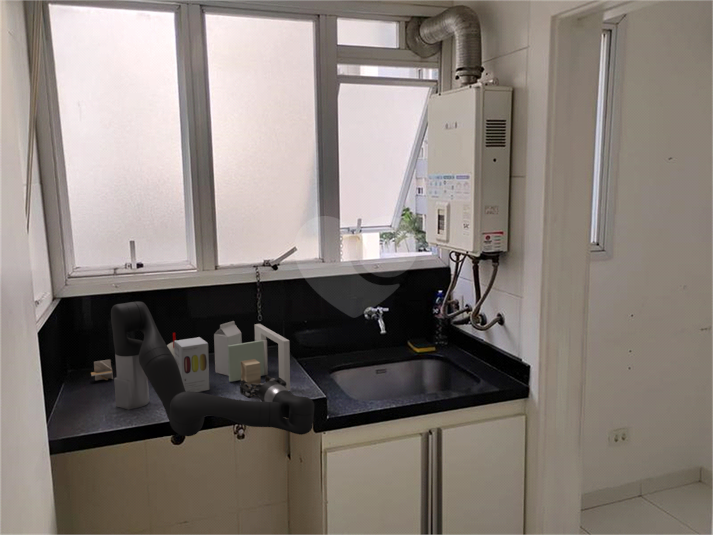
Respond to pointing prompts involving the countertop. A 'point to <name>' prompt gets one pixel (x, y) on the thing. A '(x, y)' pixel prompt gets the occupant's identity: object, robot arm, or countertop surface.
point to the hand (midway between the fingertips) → (254, 380)
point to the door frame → (283, 350)
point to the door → (246, 357)
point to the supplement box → (193, 363)
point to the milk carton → (225, 345)
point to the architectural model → (102, 370)
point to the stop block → (251, 372)
